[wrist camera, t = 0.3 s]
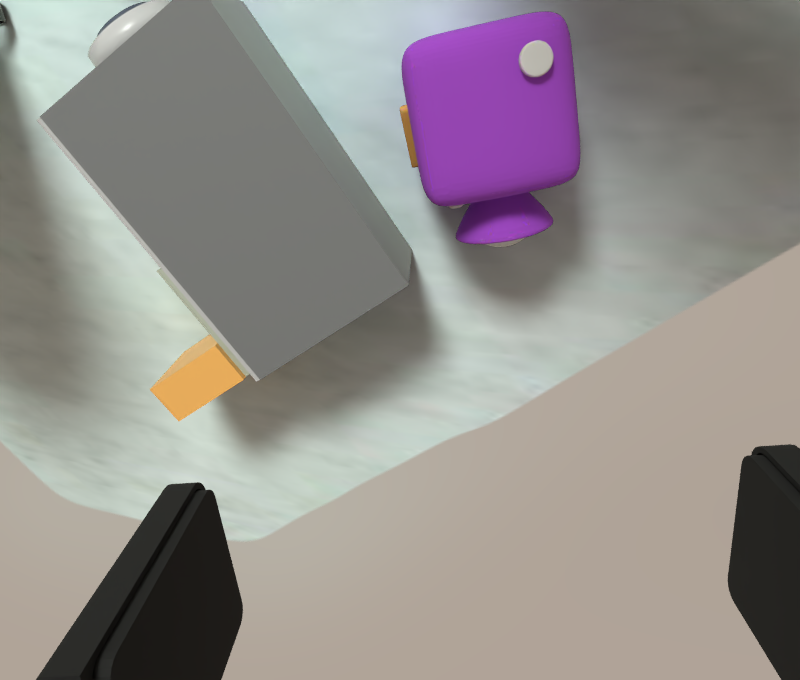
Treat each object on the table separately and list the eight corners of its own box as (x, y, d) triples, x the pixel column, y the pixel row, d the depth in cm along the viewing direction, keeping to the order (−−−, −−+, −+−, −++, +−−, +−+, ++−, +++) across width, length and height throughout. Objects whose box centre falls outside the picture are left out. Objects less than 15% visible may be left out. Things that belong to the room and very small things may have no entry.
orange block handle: (137, 287, 47) (87, 321, 40) (202, 239, 45) (162, 266, 38) (213, 374, 50) (178, 421, 43) (277, 332, 48) (252, 374, 41)
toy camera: (449, 249, 46) (454, 290, 37) (378, 67, 41) (363, 61, 32) (588, 195, 44) (631, 224, 35) (530, -3, 39) (562, -31, 30)
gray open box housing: (89, 87, 42) (8, 87, 34) (222, -29, 39) (168, -60, 31) (285, 332, 49) (256, 382, 41) (412, 249, 46) (408, 285, 38)
